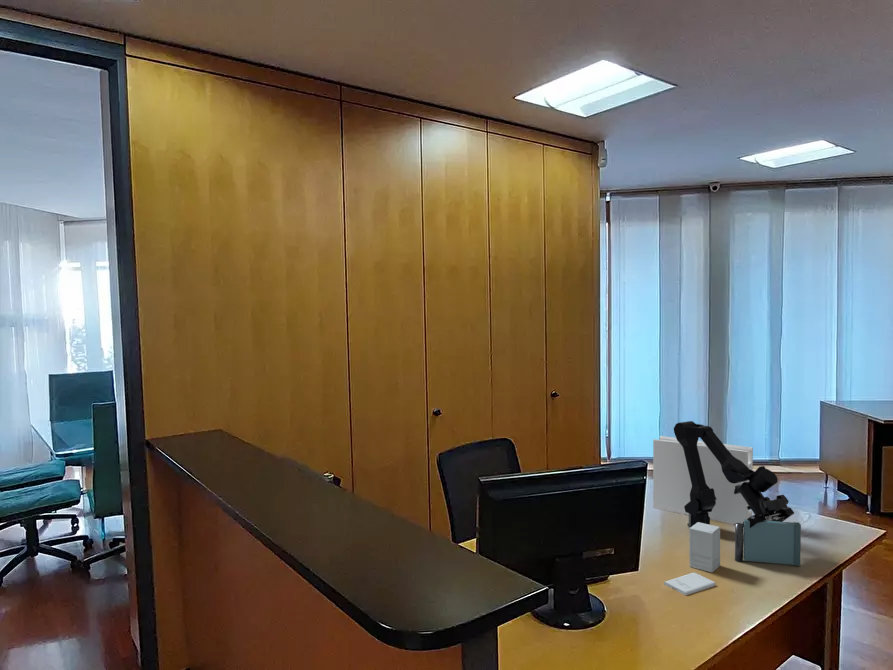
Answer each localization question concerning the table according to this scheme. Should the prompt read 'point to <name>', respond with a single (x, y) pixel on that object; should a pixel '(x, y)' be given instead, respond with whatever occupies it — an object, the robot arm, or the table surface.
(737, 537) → the gate post
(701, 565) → the supplement box
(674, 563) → the table surface
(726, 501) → the block
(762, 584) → the table surface
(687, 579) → the external hard drive
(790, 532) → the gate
